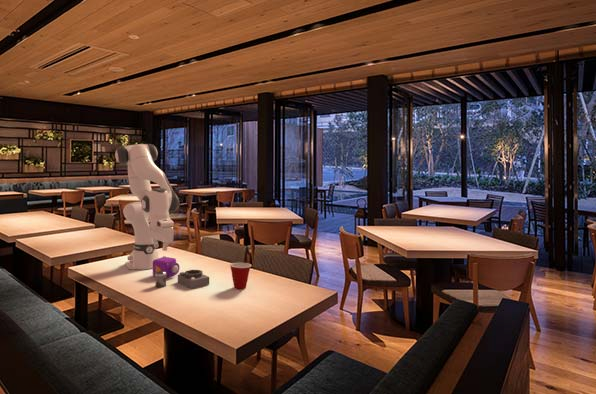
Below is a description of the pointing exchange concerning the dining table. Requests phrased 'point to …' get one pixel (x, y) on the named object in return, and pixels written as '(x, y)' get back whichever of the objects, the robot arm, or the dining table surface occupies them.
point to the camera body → (193, 279)
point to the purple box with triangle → (166, 266)
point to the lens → (160, 279)
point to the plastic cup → (240, 274)
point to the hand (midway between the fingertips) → (160, 249)
